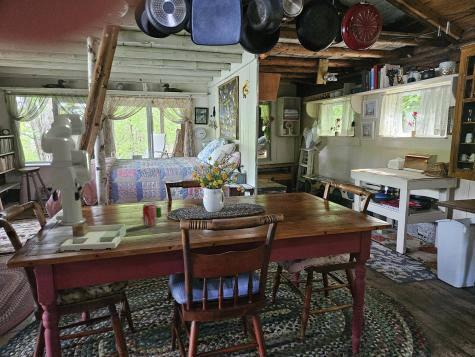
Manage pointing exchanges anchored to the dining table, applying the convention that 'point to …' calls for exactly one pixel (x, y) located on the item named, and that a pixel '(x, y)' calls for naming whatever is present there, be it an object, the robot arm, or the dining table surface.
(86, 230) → the walnut block
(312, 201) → the dining table surface
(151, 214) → the soda can
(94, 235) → the trap board
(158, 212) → the puzzle toy
